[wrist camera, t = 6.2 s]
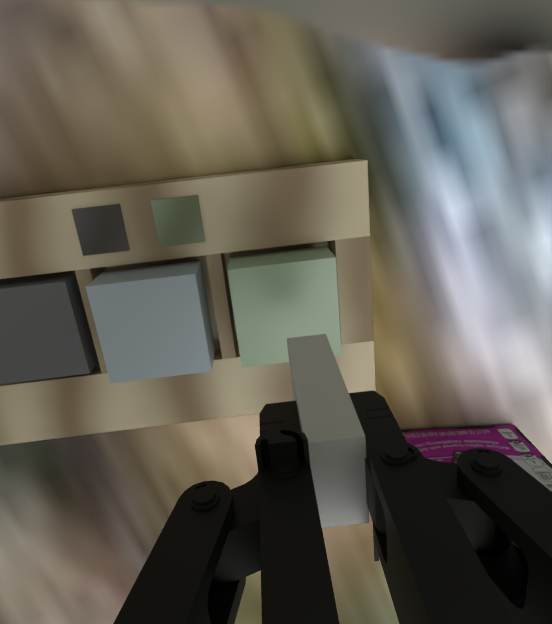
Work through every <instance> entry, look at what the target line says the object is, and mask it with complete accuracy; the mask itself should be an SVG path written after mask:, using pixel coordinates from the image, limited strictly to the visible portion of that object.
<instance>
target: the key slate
mask: <svg viewBox="0 0 552 624" xmlns="http://www.w3.org/2000/svg"><path fill="white" fill-rule="evenodd" d="M86 291H87V295H88V298H89V302H90V306H91V310H92V314H93V318H94V322H95V326H96V329H97V333H98V337H99V341H100V345H101V349H102V353H103V357H104V360H105V364H106V368H107V372H108V376H109V380H110V384H112V383H120V382H128V381H136V380H145V379H153V378H161V377H169V376H178V375H186V374H194V373H202V372H210V371H212V367H213V360H214V354H215V345H214V339H213V333H212V327H211V321H210V315H209V309H208V303H207V297H206V291H205V285H204V279H203V273H202V267H201V261H193V262H185V263H176V264H168V265H159V266H151V267H142V268H133V269H125V270H116V271H108V272H102V273H101V274H100V275H98V276H97V277H96V278H95V279H94V280H93V281H91V282H90V283H89V284H88V285H87V286H86Z"/></svg>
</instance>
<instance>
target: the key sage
mask: <svg viewBox="0 0 552 624" xmlns="http://www.w3.org/2000/svg"><path fill="white" fill-rule="evenodd" d="M228 277H229V284H230V291H231V298H232V305H233V312H234V319H235V325H236V332H237V339H238V346H239V353H240V360H241V367H242V368H243V367H251V366H260V365H268V364H276V363H284V362H289V356H288V346H287V338H293V337H302V336H311V335H319V334H326V336H327V338H328V341H329V344H330V346H331V349H332V351H333V354H334V356H342V352H341V335H340V319H339V303H338V286H337V270H336V257H335V256H334V255H333V253H332V252H331V251H330V250H329V248H328V247H327V246H322V247H313V248H305V249H296V250H288V251H279V252H271V253H262V254H253V255H245V256H236V257H229V263H228Z"/></svg>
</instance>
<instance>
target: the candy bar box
mask: <svg viewBox="0 0 552 624" xmlns="http://www.w3.org/2000/svg"><path fill="white" fill-rule="evenodd" d="M402 433H403V435H404V437H405V439H406V441H407V443H410V444H411V445H413V446H415V447H417V448H418V449H419V450H420V452H421V453H422V454H423V456H424V457H425V458H428V459H431V460H435V461H441V462H451V463H457V458H458V457H459V455H460V454H461V453H462V452H464V451H466V450H468V449H473V448H485V449H491V450H494V451H498V452H500V453H502V454H504V455H506V456H507V457H509V458H510V459H512V460H513V461H514V462H515V463H517V464H518V465H519V466H520V467H522V468H523V469H524V470H525V471H527V472H528V473H529V474H530V475H532V476H533V477H534V478H535V479H537V480H538V481H539V482H540V483H542V484H543V485H544V486H545V487H547V488H548V489H549V490H550V491H552V464H551V463H550V462H549V461H548V460H547V459H546V458H545V457H544V456H543V455H542V454H541V453H540V452H539V450H538V449H537V448H536V447H535V446H534V445H533V444H532V443H531V442H530V441H529V440H528V439H527V438H526V437H525V436H524V435H523V433H521V432H520V430H519V429H518V428H517V427H516V426H515V425H499V426H482V427H465V428H446V429H427V430H409V431H402Z"/></svg>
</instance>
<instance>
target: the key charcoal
mask: <svg viewBox="0 0 552 624" xmlns="http://www.w3.org/2000/svg"><path fill="white" fill-rule="evenodd" d="M97 362H98V357H97V353H96V350H95V346H94V342H93V338H92V334H91V331H90V327H89V323H88V319H87V315H86V312H85V308H84V304H83V300H82V296H81V293H80V289H79V285H78V281H77V277H76V274H75V270H74V271H65V272H57V273H48V274H39V275H31V276H22V277H14V278H5V279H0V384H6V383H15V382H23V381H31V380H39V379H48V378H56V377H64V376H72V375H81V374H89V373H91V371H92V370H93V368H94V367H95V365H96V364H97Z"/></svg>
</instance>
